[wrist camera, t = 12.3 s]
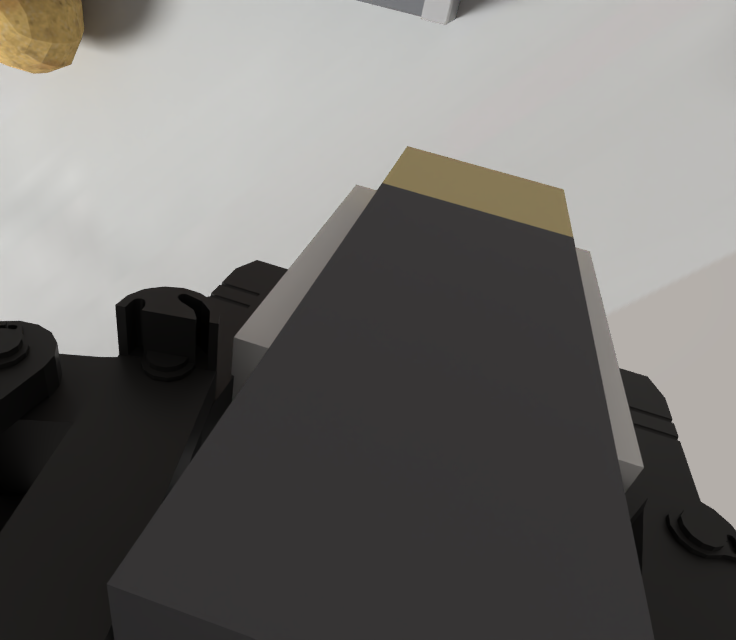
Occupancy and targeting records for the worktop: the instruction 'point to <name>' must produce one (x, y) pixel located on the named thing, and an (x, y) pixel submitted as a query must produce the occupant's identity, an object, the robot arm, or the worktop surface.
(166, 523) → the plug
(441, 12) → the grey slab
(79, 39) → the potato
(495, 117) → the worktop surface
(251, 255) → the worktop surface
